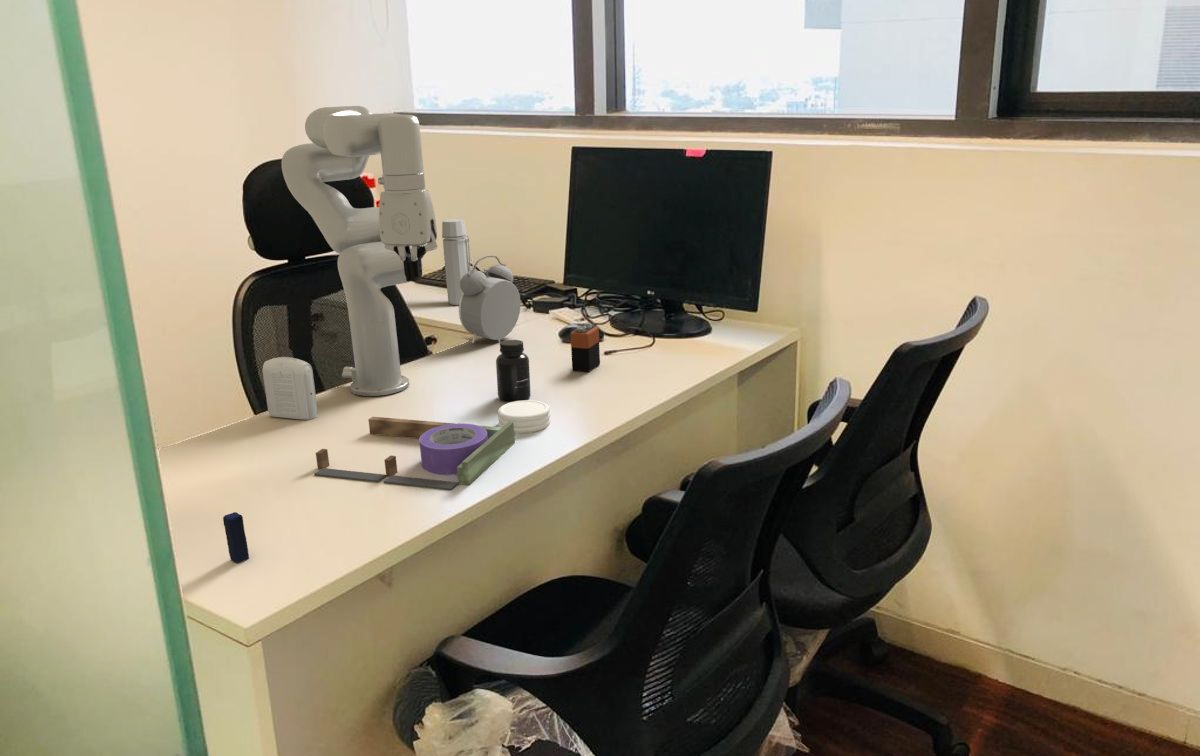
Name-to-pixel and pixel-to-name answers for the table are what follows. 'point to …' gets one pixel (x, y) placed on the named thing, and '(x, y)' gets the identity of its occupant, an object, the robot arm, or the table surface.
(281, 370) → the photo printer
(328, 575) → the table surface
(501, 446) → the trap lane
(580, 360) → the battery
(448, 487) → the mats
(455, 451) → the tape roll
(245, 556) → the eraser
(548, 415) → the coaster
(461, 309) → the alarm clock
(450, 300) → the water bottle
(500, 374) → the supplement bottle
